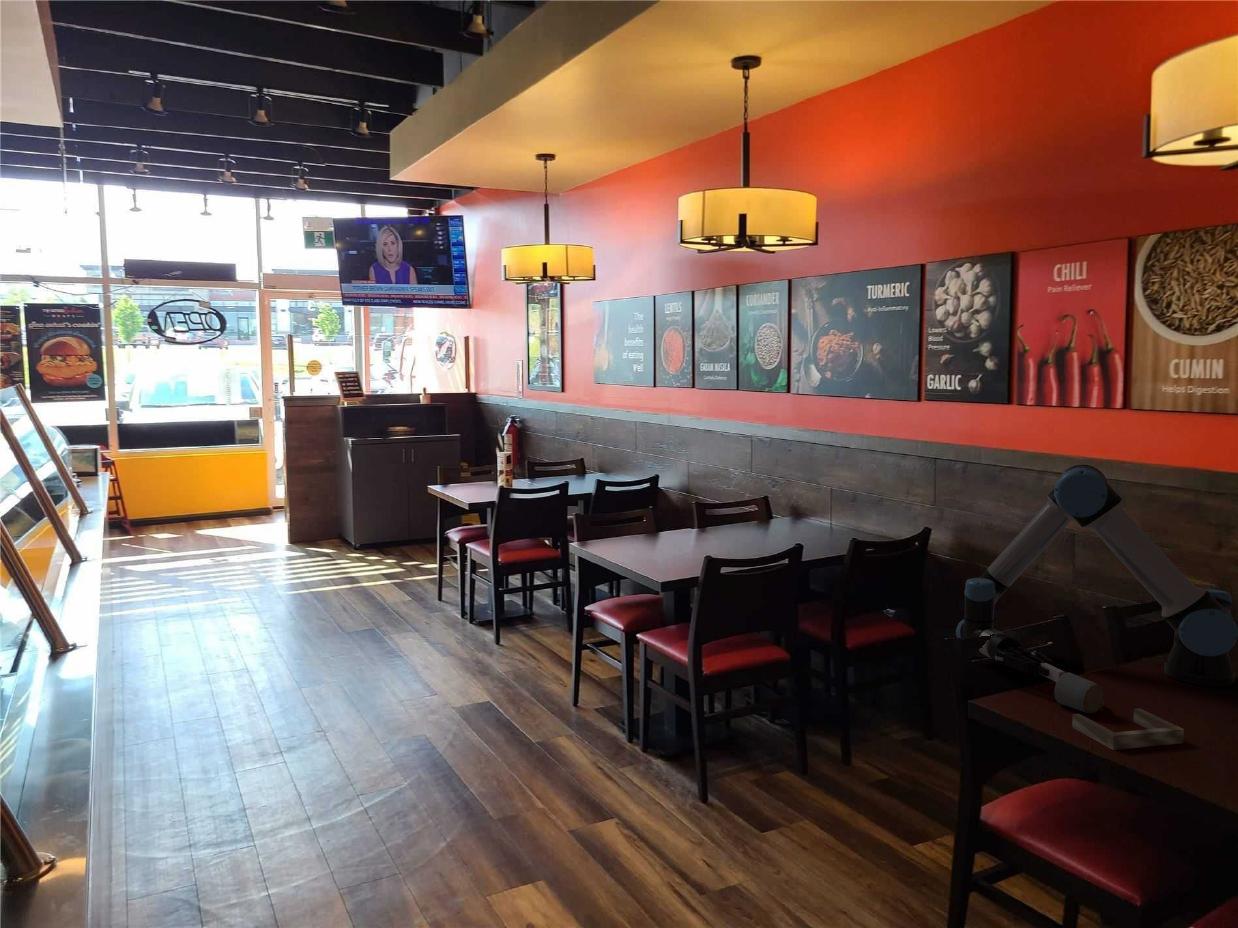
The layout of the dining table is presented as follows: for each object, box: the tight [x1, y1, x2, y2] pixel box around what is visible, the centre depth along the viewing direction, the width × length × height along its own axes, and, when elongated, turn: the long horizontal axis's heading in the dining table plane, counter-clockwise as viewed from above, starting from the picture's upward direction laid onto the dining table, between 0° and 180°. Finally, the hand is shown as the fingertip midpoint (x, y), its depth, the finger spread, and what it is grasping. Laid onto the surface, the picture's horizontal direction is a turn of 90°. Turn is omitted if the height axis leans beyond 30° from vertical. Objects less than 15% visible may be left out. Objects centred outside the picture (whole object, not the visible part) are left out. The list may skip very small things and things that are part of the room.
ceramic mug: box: [1054, 672, 1106, 714], centre depth 203 cm, size 11×8×8 cm
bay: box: [1071, 707, 1185, 751], centre depth 188 cm, size 17×12×3 cm
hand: (1061, 677), depth 205 cm, fingers closed
